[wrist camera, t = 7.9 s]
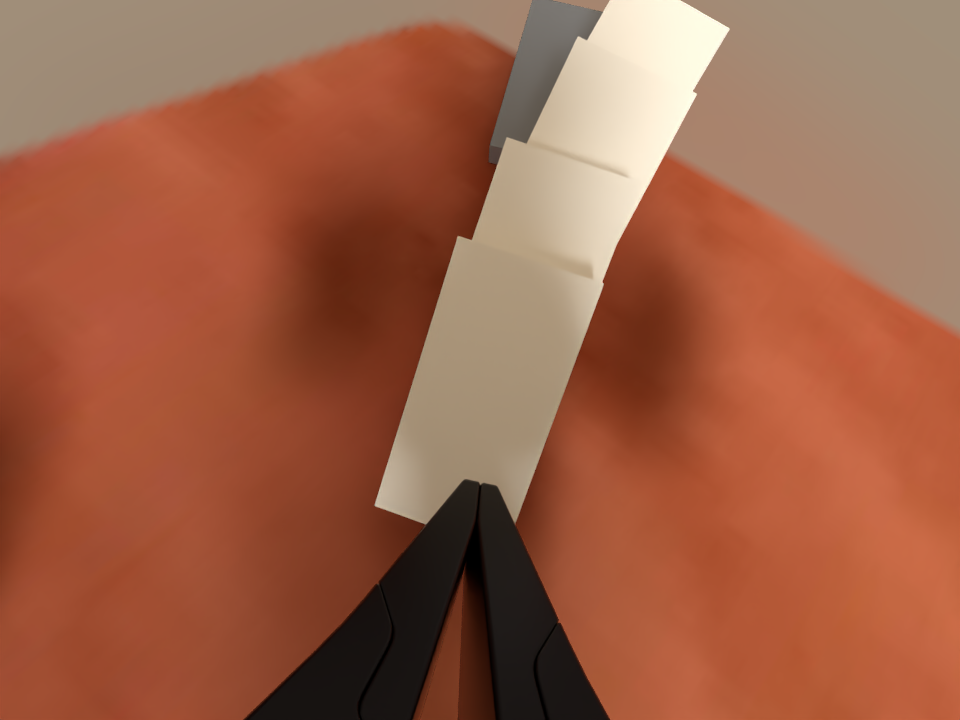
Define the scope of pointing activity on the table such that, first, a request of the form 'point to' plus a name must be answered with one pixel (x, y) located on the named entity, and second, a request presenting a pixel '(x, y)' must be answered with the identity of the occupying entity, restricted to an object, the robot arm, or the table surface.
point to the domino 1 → (487, 379)
